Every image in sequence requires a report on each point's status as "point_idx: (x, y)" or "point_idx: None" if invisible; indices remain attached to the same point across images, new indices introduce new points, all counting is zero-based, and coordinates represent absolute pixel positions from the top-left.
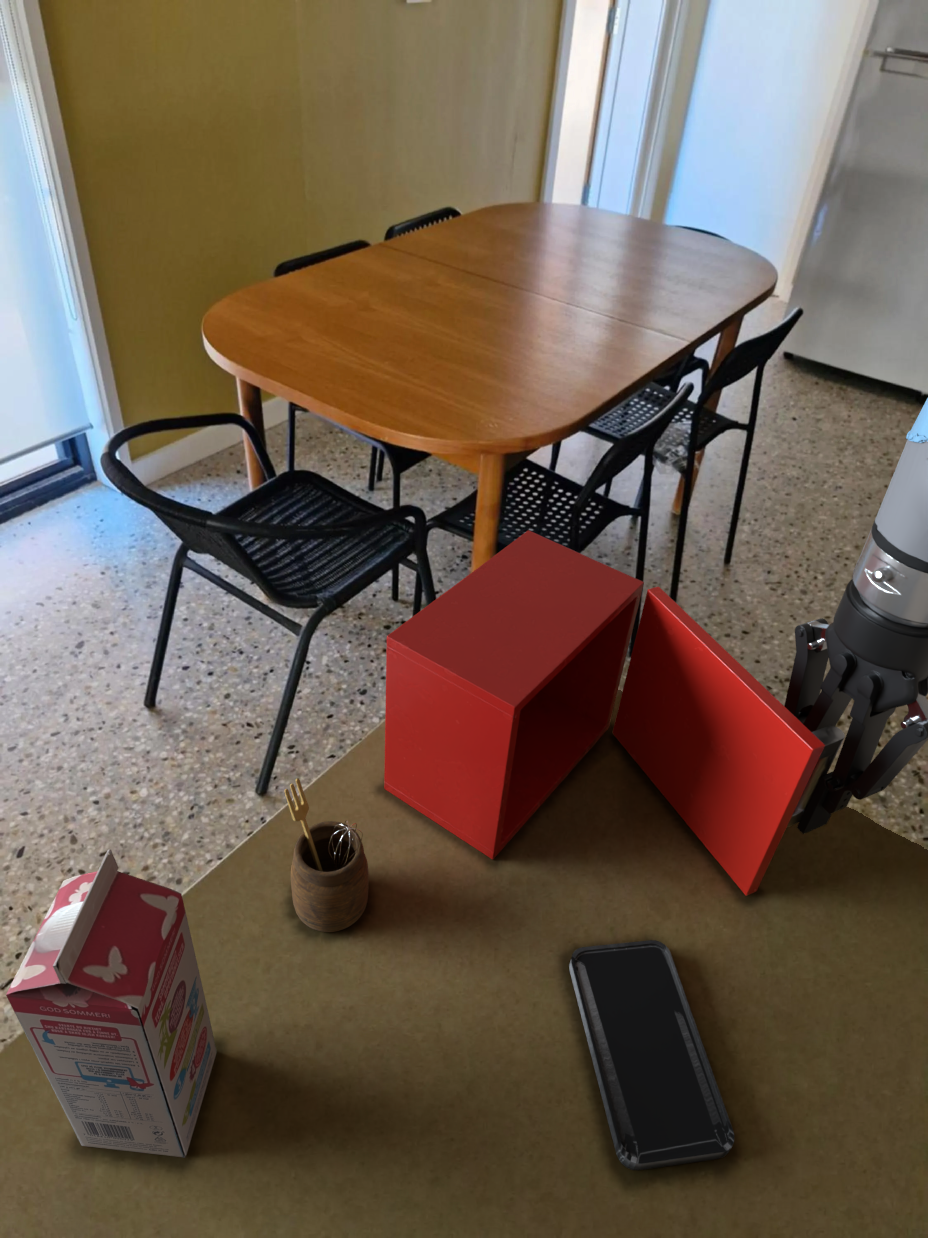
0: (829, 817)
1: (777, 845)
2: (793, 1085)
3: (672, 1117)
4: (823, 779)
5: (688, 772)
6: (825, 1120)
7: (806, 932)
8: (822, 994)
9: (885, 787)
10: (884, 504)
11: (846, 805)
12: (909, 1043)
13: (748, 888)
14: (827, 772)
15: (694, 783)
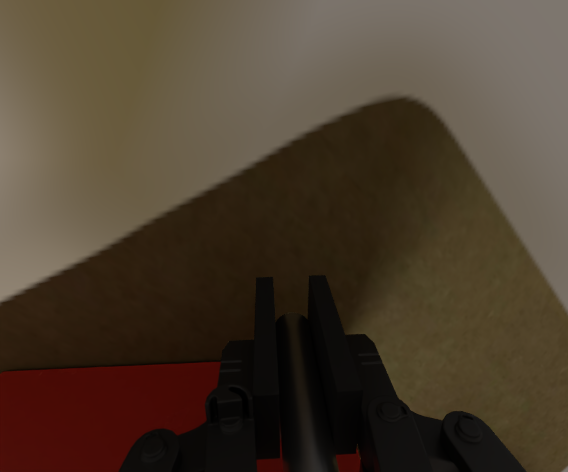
0: (328, 286)
1: (358, 453)
2: (500, 429)
3: None
4: (341, 454)
5: None
6: (535, 423)
7: (404, 334)
8: (465, 362)
9: (495, 439)
10: None
11: (375, 348)
12: (559, 320)
13: None
14: (333, 444)
15: None
